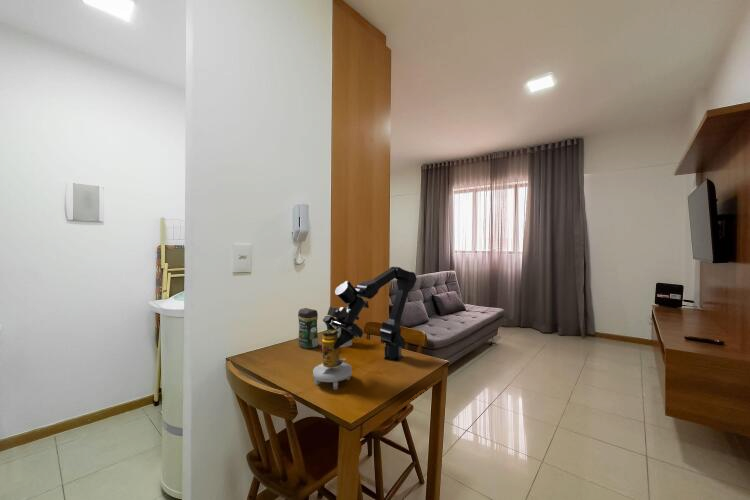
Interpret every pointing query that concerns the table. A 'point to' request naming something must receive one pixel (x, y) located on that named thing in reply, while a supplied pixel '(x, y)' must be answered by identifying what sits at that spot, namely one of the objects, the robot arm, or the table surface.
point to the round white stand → (332, 374)
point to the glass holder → (346, 342)
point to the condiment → (330, 350)
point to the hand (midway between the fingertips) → (329, 346)
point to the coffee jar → (308, 328)
